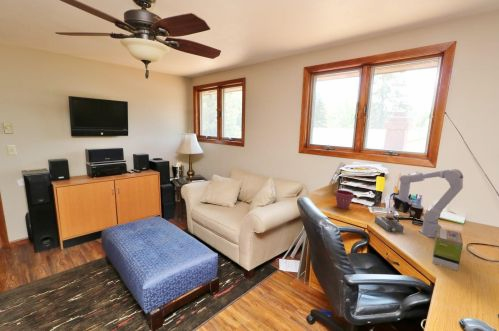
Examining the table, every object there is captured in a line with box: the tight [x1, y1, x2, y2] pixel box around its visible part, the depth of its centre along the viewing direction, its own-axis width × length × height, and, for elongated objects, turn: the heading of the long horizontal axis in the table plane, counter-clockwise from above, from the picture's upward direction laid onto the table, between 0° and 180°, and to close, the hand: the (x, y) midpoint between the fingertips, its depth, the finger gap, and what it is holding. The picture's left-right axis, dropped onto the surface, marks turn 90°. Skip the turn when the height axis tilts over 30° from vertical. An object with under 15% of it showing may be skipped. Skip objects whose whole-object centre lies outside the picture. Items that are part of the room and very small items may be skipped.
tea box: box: [431, 227, 464, 272], centre depth 118 cm, size 15×10×15 cm
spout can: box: [386, 210, 395, 220], centre depth 158 cm, size 4×4×7 cm
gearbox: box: [374, 215, 404, 233], centre depth 157 cm, size 18×10×6 cm, turn 179°
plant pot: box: [334, 189, 355, 210], centre depth 193 cm, size 14×14×13 cm
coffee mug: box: [407, 203, 425, 220], centre depth 174 cm, size 12×9×10 cm
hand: (401, 210), depth 162 cm, fingers open, 7 cm apart
